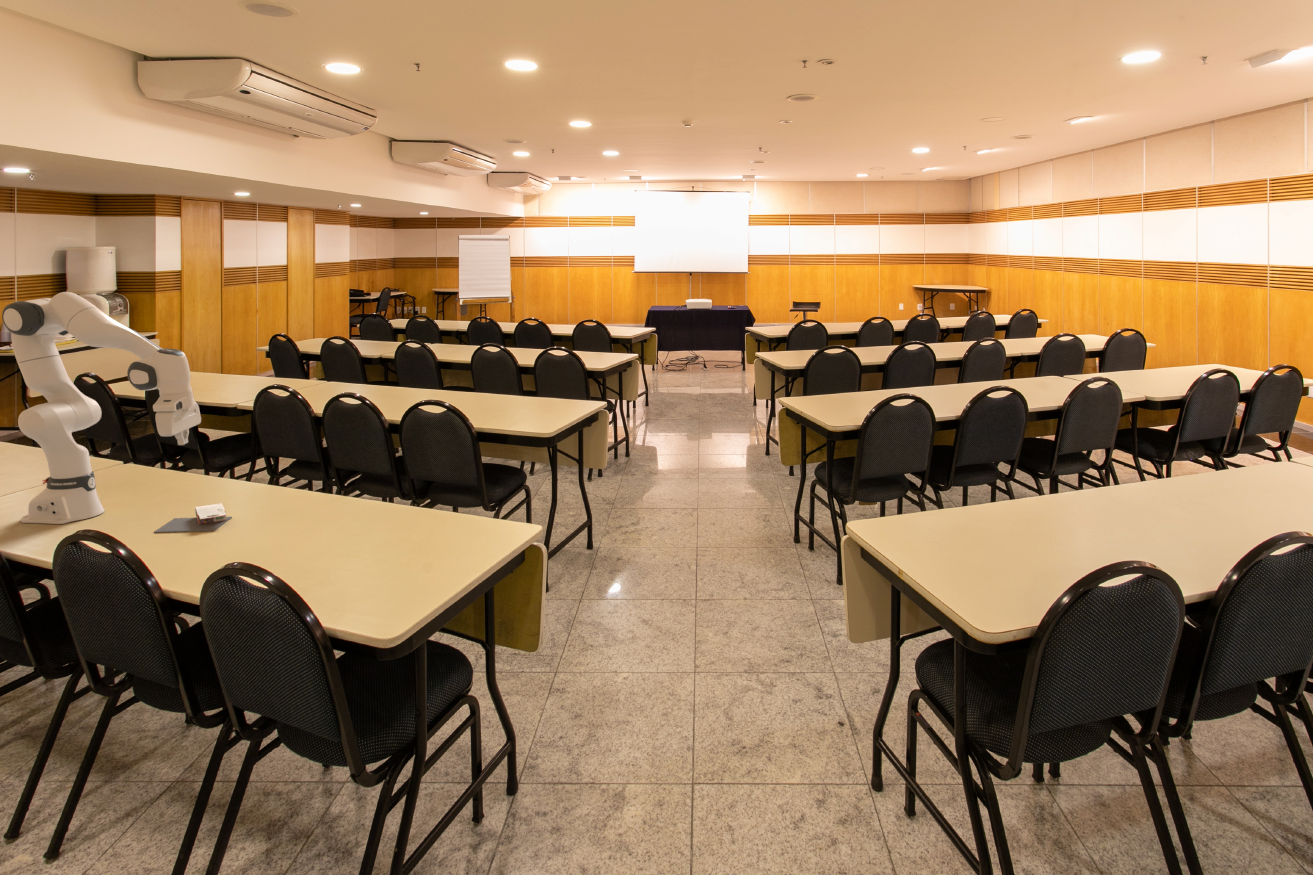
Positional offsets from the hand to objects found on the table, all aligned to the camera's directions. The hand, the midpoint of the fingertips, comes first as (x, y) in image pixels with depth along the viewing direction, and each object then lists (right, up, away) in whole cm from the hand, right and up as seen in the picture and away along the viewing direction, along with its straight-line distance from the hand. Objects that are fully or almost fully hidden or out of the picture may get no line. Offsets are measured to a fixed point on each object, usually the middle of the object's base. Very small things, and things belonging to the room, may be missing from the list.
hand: (183, 444), depth 242 cm
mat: (0, -26, +6) cm, 27 cm away
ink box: (0, -22, +14) cm, 26 cm away
